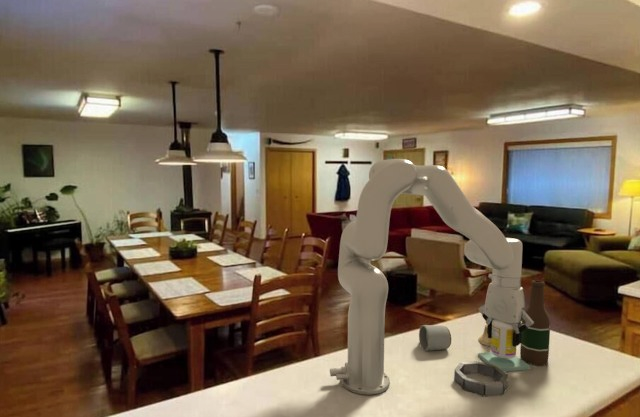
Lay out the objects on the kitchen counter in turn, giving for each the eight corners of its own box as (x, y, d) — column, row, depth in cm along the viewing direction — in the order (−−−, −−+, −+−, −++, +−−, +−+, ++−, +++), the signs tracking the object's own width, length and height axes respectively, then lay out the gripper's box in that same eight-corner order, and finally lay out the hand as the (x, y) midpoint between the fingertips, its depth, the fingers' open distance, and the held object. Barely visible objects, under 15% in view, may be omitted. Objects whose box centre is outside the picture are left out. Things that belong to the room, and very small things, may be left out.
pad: (497, 372, 115) (497, 368, 115) (478, 356, 125) (478, 353, 125) (529, 369, 116) (530, 366, 116) (508, 354, 126) (508, 350, 126)
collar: (470, 398, 102) (471, 386, 101) (447, 373, 114) (448, 363, 114) (516, 393, 104) (517, 382, 103) (489, 370, 116) (489, 360, 115)
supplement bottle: (517, 353, 121) (519, 310, 120) (513, 361, 116) (516, 317, 115) (493, 347, 125) (494, 306, 124) (488, 355, 119) (490, 312, 118)
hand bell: (475, 336, 140) (477, 290, 138) (501, 337, 139) (503, 291, 137) (481, 346, 132) (483, 298, 130) (509, 348, 130) (511, 299, 129)
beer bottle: (552, 367, 118) (557, 285, 115) (523, 365, 119) (527, 283, 117) (543, 355, 125) (547, 278, 123) (516, 353, 127) (519, 277, 125)
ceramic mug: (452, 352, 127) (453, 328, 127) (427, 354, 126) (428, 330, 125) (437, 339, 138) (437, 317, 137) (414, 341, 136) (414, 318, 136)
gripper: (471, 277, 123) (469, 335, 124) (531, 290, 109) (528, 355, 111) (484, 273, 127) (482, 329, 129) (543, 285, 114) (540, 347, 116)
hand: (503, 340), depth 120 cm, fingers closed on supplement bottle, 6 cm apart
